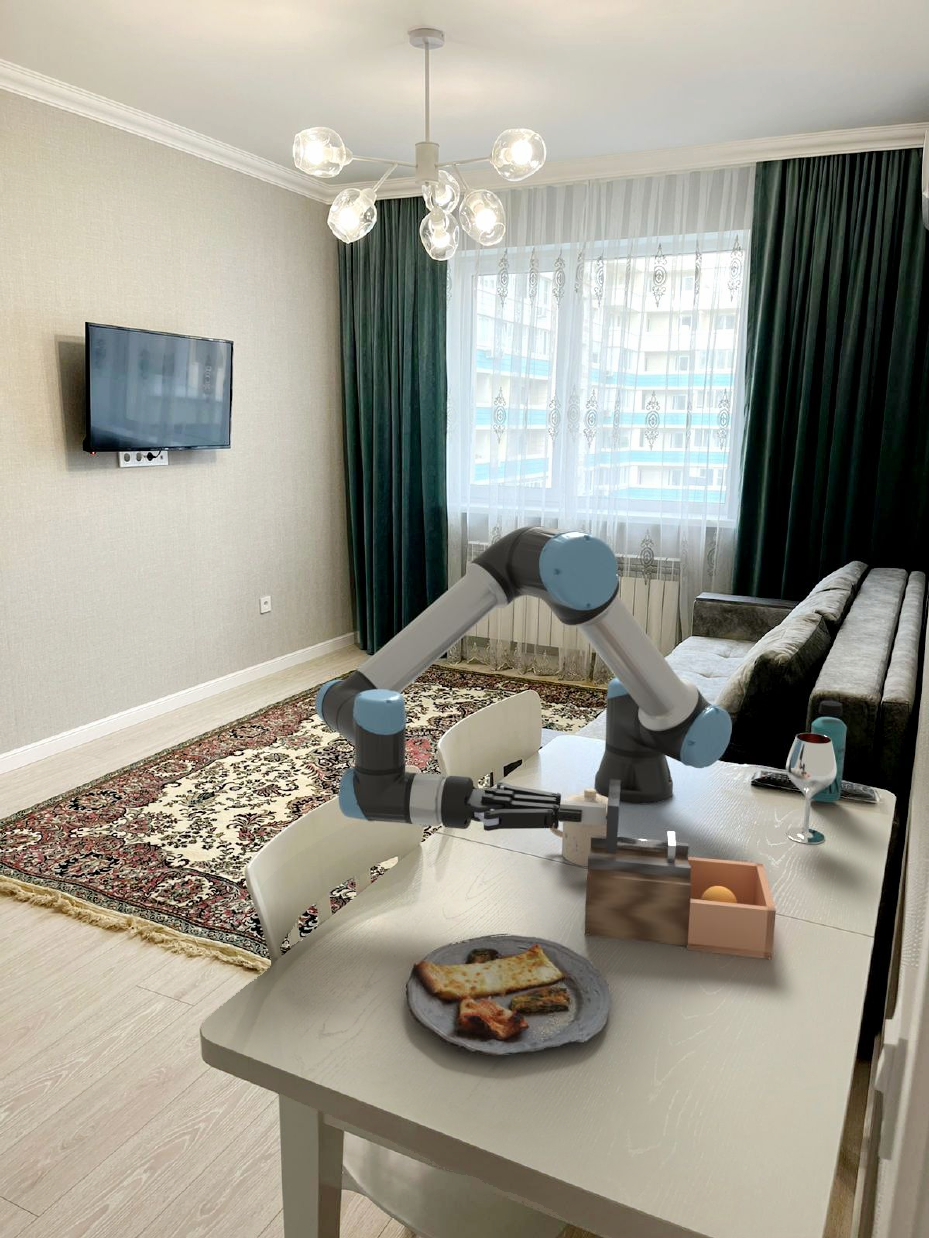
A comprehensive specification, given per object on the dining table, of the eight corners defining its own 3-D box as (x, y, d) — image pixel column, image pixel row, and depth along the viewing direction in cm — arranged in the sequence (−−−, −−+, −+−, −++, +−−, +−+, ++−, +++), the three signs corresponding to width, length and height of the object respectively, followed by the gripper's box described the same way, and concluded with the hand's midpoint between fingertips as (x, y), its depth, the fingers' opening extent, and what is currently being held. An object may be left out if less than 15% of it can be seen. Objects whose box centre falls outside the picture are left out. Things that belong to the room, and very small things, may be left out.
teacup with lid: (623, 850, 154) (625, 785, 152) (604, 872, 146) (607, 804, 144) (556, 836, 160) (558, 772, 157) (535, 856, 152) (537, 790, 149)
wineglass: (837, 847, 156) (847, 746, 153) (789, 846, 156) (797, 745, 153) (820, 826, 164) (828, 731, 161) (774, 826, 164) (782, 730, 161)
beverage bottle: (801, 805, 174) (810, 704, 170) (806, 793, 179) (815, 695, 175) (838, 812, 171) (848, 709, 167) (842, 800, 176) (851, 700, 172)
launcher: (584, 934, 128) (587, 864, 126) (589, 893, 139) (592, 828, 137) (687, 945, 125) (691, 874, 123) (683, 902, 137) (687, 837, 135)
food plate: (430, 1081, 98) (431, 1052, 98) (388, 965, 120) (388, 940, 120) (641, 1047, 105) (643, 1019, 105) (564, 942, 127) (566, 919, 127)
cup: (687, 949, 124) (690, 902, 123) (683, 899, 138) (686, 856, 136) (771, 958, 122) (775, 910, 121) (759, 907, 136) (762, 863, 134)
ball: (710, 929, 131) (687, 903, 131) (730, 904, 133) (707, 878, 133) (730, 931, 126) (707, 904, 126) (750, 904, 128) (727, 878, 128)
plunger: (604, 869, 127) (607, 805, 125) (607, 838, 136) (610, 779, 134) (675, 876, 125) (678, 811, 123) (673, 844, 134) (676, 784, 133)
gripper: (453, 807, 142) (606, 820, 137) (434, 843, 129) (602, 859, 125) (453, 761, 140) (608, 773, 136) (434, 793, 128) (604, 807, 123)
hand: (605, 814), depth 130 cm, fingers closed
